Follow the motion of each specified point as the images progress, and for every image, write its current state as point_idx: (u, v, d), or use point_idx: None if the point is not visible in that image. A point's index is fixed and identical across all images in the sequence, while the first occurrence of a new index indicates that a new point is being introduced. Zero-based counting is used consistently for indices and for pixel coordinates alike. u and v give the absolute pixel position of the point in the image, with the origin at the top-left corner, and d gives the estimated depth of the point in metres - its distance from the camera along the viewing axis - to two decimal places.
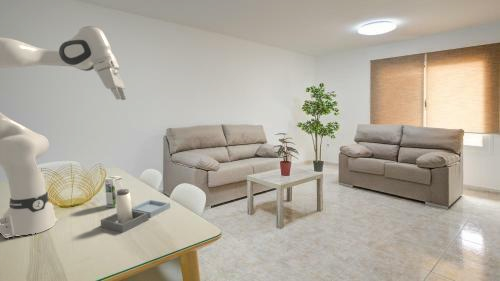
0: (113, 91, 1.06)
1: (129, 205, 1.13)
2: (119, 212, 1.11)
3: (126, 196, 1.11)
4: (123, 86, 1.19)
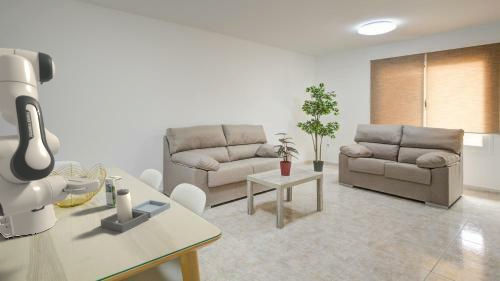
0: None
1: (129, 205, 1.13)
2: (119, 212, 1.11)
3: (126, 196, 1.11)
4: None
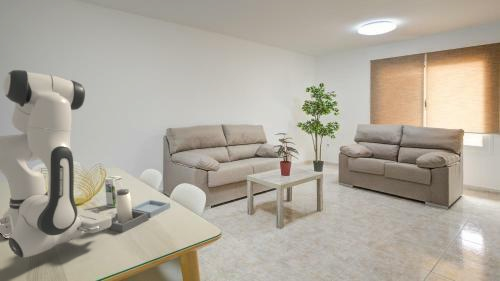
0: None
1: (129, 205, 1.13)
2: (119, 212, 1.11)
3: (126, 196, 1.11)
4: None
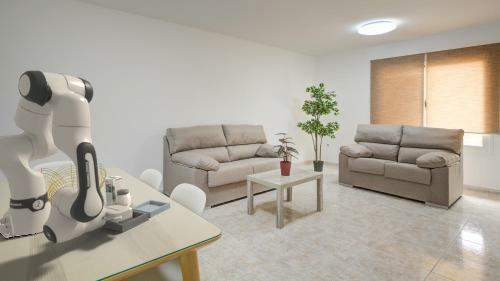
0: None
1: None
2: None
3: (126, 196, 1.11)
4: None
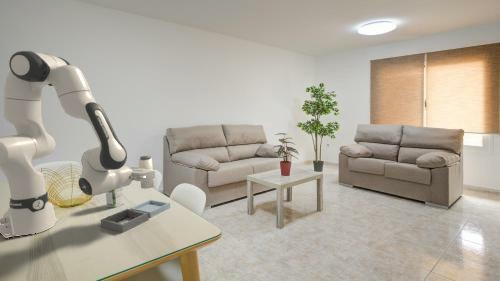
0: None
1: None
2: None
3: (148, 161, 1.22)
4: None
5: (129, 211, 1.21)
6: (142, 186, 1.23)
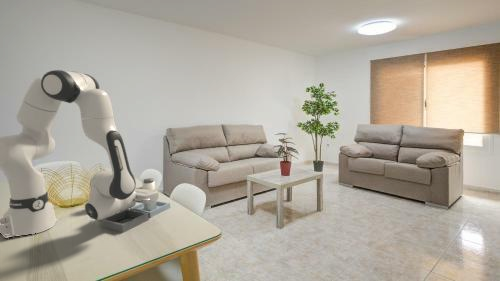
0: None
1: None
2: None
3: (152, 184, 1.25)
4: None
5: (129, 211, 1.21)
6: (145, 208, 1.26)
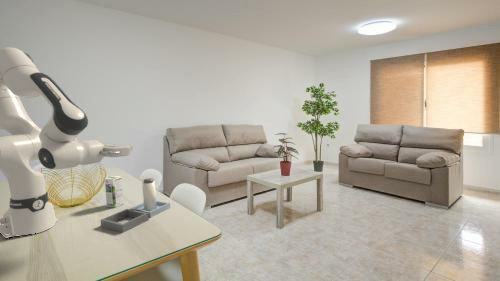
0: None
1: (154, 192, 1.26)
2: (145, 198, 1.25)
3: (152, 184, 1.25)
4: None
5: (129, 211, 1.21)
6: (145, 208, 1.26)
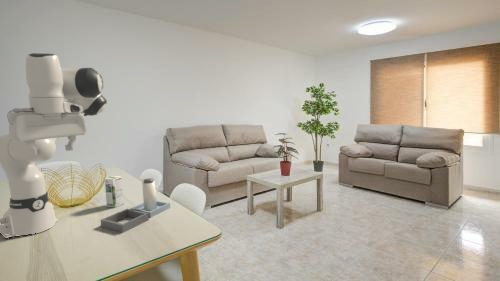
0: None
1: (154, 192, 1.26)
2: (145, 198, 1.25)
3: (152, 184, 1.25)
4: None
5: (129, 211, 1.21)
6: (145, 208, 1.26)
